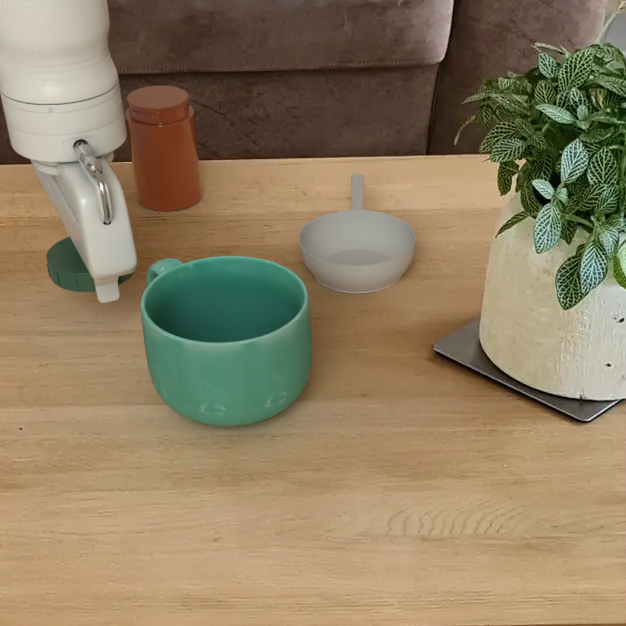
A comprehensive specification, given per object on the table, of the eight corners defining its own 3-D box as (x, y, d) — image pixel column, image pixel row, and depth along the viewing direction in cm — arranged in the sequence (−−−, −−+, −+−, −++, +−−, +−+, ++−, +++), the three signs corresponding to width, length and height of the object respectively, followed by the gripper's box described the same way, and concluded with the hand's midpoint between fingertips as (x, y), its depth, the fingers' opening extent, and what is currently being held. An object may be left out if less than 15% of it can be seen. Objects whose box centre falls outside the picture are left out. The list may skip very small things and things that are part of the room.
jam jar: (152, 216, 116) (137, 114, 110) (127, 191, 121) (112, 91, 114) (213, 201, 119) (203, 101, 113) (187, 177, 124) (176, 79, 117)
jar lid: (138, 248, 102) (135, 230, 101) (133, 290, 97) (130, 271, 96) (55, 252, 101) (51, 234, 100) (45, 294, 96) (41, 275, 95)
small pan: (297, 300, 105) (295, 262, 102) (305, 208, 119) (303, 173, 116) (417, 299, 105) (418, 262, 103) (410, 207, 119) (411, 173, 117)
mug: (344, 412, 92) (341, 309, 86) (199, 469, 86) (185, 362, 80) (243, 318, 102) (234, 220, 96) (108, 363, 96) (89, 262, 90)
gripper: (143, 164, 85) (167, 325, 93) (75, 69, 99) (101, 217, 107) (55, 180, 82) (88, 344, 91) (-1, 81, 97) (31, 231, 105)
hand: (94, 274), depth 99 cm, fingers closed on jar lid, 7 cm apart
